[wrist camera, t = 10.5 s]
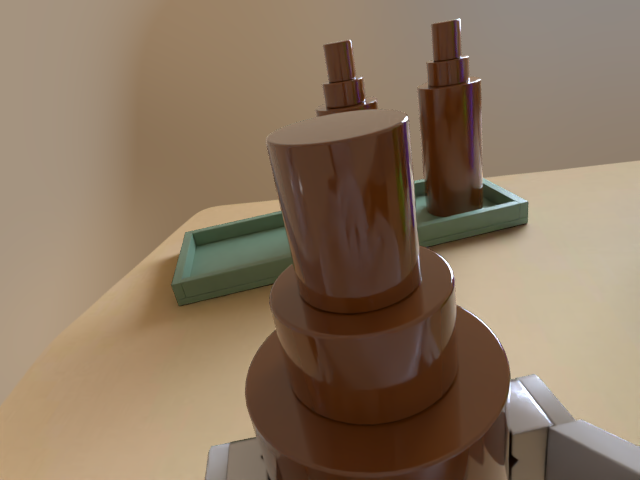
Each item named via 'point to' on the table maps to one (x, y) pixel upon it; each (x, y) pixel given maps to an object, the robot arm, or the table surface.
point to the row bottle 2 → (450, 127)
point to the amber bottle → (369, 323)
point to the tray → (274, 255)
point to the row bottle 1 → (343, 82)
